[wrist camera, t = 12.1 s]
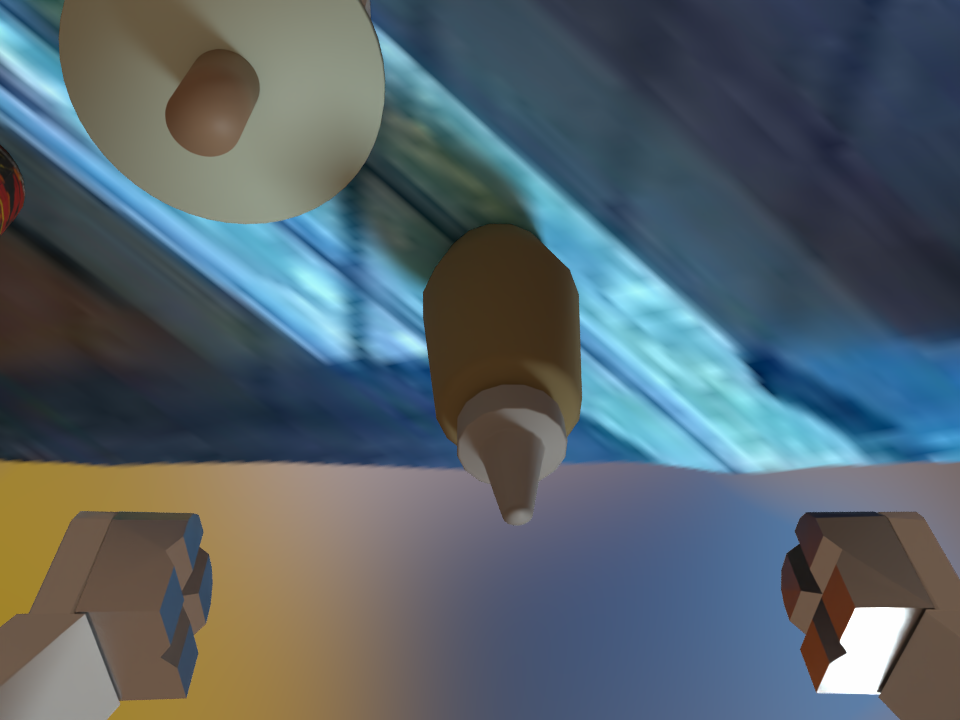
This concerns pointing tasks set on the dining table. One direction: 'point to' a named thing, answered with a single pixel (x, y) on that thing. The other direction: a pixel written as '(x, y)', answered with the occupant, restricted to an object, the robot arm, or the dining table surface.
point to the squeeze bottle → (504, 359)
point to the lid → (227, 98)
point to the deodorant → (9, 190)
